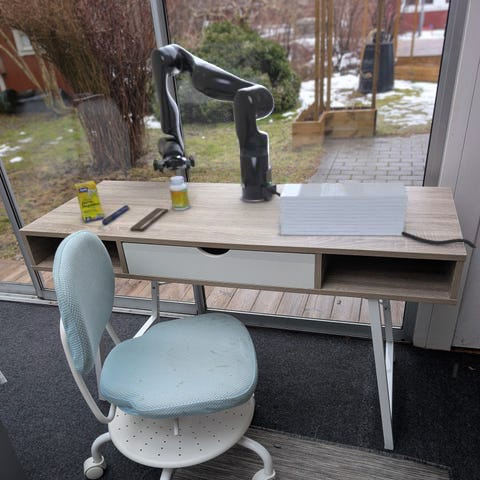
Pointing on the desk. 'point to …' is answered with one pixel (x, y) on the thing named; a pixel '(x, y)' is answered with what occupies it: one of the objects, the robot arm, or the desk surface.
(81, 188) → the supplement box
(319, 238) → the desk surface
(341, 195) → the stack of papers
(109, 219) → the pen
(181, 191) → the supplement bottle
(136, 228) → the dark brown flat bar
